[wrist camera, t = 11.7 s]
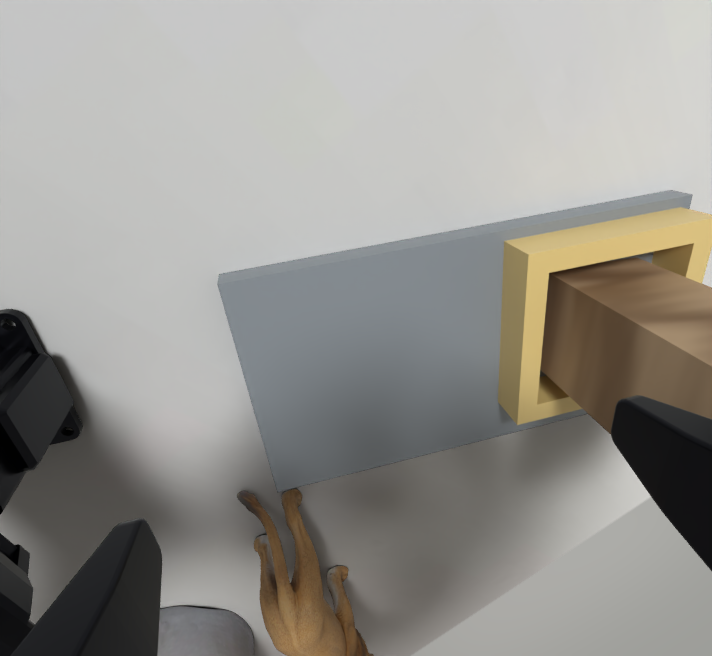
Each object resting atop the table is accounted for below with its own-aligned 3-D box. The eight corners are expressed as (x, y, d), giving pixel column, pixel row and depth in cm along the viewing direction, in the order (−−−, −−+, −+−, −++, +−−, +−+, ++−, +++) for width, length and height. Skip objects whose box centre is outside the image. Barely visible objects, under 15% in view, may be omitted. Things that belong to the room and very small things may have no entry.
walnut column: (530, 360, 23) (796, 605, 12) (543, 270, 21) (888, 467, 10) (614, 346, 24) (938, 562, 13) (636, 257, 22) (1054, 426, 11)
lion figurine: (388, 587, 32) (435, 747, 24) (323, 622, 32) (348, 792, 24) (278, 462, 24) (292, 632, 17) (195, 508, 25) (170, 698, 17)
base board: (276, 475, 25) (279, 523, 22) (218, 274, 19) (214, 304, 16) (629, 388, 28) (672, 420, 25) (671, 190, 22) (733, 203, 19)
